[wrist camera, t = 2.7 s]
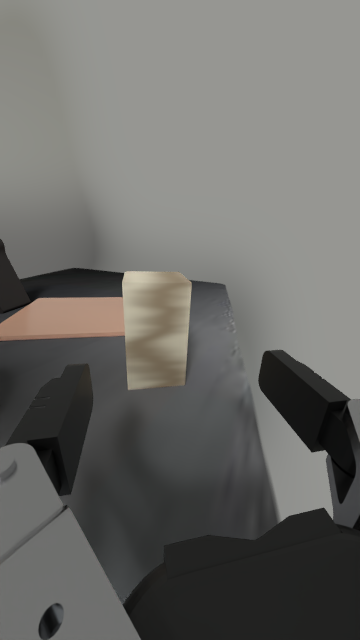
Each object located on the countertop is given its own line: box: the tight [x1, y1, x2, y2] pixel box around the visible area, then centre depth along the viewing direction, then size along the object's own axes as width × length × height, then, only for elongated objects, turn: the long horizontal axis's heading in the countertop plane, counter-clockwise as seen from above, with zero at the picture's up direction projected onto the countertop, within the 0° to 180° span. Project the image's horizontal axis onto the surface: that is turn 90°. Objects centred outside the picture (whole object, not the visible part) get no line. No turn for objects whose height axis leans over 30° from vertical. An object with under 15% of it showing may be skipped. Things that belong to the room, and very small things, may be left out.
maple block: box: [122, 271, 192, 390], centre depth 21 cm, size 5×5×10 cm
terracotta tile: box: [0, 297, 125, 341], centre depth 37 cm, size 18×18×1 cm
